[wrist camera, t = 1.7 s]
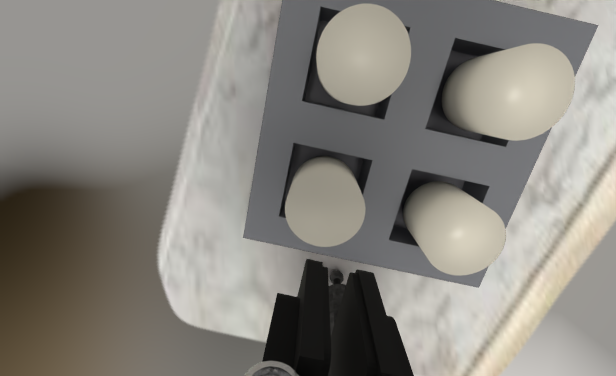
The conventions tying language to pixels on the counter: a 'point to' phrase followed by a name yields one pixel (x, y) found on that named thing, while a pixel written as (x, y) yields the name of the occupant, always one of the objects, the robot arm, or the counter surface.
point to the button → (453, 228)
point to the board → (396, 124)
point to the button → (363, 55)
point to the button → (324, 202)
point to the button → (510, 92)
